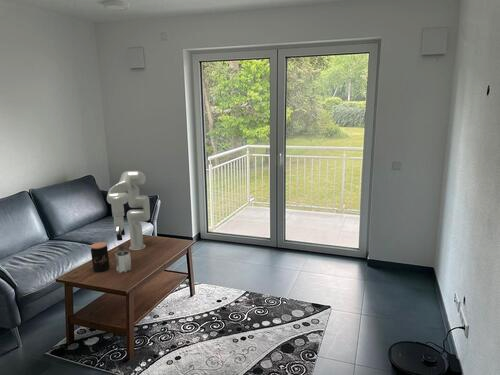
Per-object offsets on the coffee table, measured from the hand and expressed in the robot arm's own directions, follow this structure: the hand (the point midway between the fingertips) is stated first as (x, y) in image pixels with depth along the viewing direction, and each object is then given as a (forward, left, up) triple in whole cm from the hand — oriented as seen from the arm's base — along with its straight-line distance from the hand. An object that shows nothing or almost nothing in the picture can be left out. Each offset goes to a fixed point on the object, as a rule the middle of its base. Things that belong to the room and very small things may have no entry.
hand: (121, 237), depth 256 cm
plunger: (+1, 0, -20) cm, 20 cm away
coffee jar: (-3, -16, -23) cm, 29 cm away
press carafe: (-1, 0, -23) cm, 23 cm away
